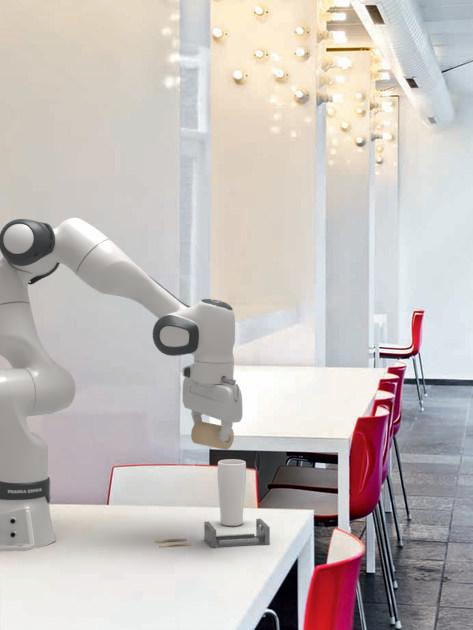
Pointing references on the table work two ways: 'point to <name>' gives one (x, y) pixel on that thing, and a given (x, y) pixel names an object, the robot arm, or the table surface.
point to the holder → (237, 537)
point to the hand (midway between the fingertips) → (210, 435)
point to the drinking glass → (231, 491)
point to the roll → (210, 435)
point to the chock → (172, 541)
